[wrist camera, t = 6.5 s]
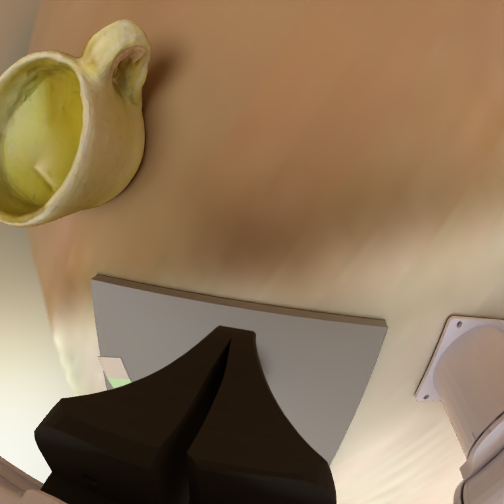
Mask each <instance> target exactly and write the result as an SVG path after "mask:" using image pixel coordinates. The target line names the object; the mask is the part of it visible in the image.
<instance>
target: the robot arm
mask: <svg viewBox="0 0 504 504" xmlns="http://www.w3.org/2000/svg"><path fill="white" fill-rule="evenodd" d="M459 321H460V323H459V324H458V325H457V323H458V322H459ZM425 395H426V396H425ZM415 399H416V400H417V401H441V402H442V404H443V406H444V408H445V410H446V413H447V415H448V417H449V419H450V421H451V424H452V426H453V428H454V430H455V433H456V435H457V437H458V440H459V442H460V445H461V447H462V449H463V452H464V454H465V457H466V459H467V461H466V462H465V463H464V464H463V465H462V466H461V467H460V471H461V474H462V477H463V479H464V480H463V481H462V482H461V483H460V484H459V485H458V486H457V488H456V490H455V494H454V501H453V503H454V504H504V320H499V319H486V318H474V317H463V316H452V317H450V318H449V319H448V321H447V323H446V326H445V328H444V331H443V333H442V336H441V338H440V341H439V343H438V346H437V348H436V351H435V353H434V355H433V358H432V360H431V362H430V364H429V367H428V369H427V371H426V373H425V375H424V377H423V379H422V382H421V384H420V386H419V388H418V390H417V392H416V394H415ZM34 433H35V434H34V435H35V441H36V443H37V445H38V448H39V450H40V451H41V453H42V455H43V457H44V458H45V460H46V462H47V464H48V465H49V467H50V469H51V470H52V473H51V474H50V476H49V477H48V479H47V480H46V482H45V483H44V484H43V483H41V482H40V481H38V480H36V479H34V478H33V477H31V476H30V475H28V474H26V473H25V472H23V471H22V470H20V469H18V468H17V467H15V466H14V465H12V464H11V463H9V462H8V461H6V460H5V459H4V458H2V457H1V456H0V504H336V490H335V485H334V481H333V477H332V473H331V470H330V467H329V464H328V462H327V461H326V460H325V459H324V458H323V457H322V456H321V455H319V454H318V453H317V452H316V451H315V450H314V449H313V448H312V447H311V446H310V445H309V444H308V443H307V442H306V441H305V440H304V439H303V437H302V436H301V435H300V434H299V433H298V432H297V430H296V429H295V428H294V426H293V425H292V424H291V422H290V421H289V420H288V418H287V417H286V416H285V414H284V413H283V411H282V409H281V408H280V406H279V405H278V403H277V401H276V399H275V397H274V396H273V394H272V392H271V390H270V387H269V385H268V383H267V380H266V378H265V375H264V373H263V370H262V367H261V363H260V360H259V356H258V352H257V346H256V333H255V332H254V331H250V330H244V329H238V328H232V327H226V326H221V325H219V326H217V327H216V328H215V329H214V330H213V331H212V332H210V333H209V334H208V335H207V336H206V337H205V338H204V339H202V340H201V341H200V342H199V343H198V344H196V345H195V346H194V347H193V348H191V349H190V350H189V351H188V352H186V353H185V354H183V355H182V356H181V357H179V358H178V359H176V360H175V361H173V362H172V363H170V364H169V365H167V366H165V367H164V368H162V369H160V370H158V371H156V372H154V373H152V374H151V375H148V376H146V377H144V378H141V379H139V380H136V381H134V382H131V383H129V384H126V385H123V386H120V387H117V388H114V389H111V390H107V391H103V392H99V393H94V394H89V395H83V396H76V397H70V398H62V399H61V400H60V401H59V402H58V403H57V404H56V405H55V406H54V407H53V408H52V409H51V411H50V412H49V413H48V414H47V416H46V417H45V418H44V419H43V421H42V422H41V423H40V424H39V426H38V427H37V428H36V430H35V431H34Z"/></svg>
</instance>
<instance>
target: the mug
mask: <svg viewBox="0 0 504 504" xmlns="http://www.w3.org/2000/svg"><path fill="white" fill-rule="evenodd" d="M151 52H152V48H151V44H150V43H149V41H148V39H147V37H146V34H145V32H144V31H143V30H142V28H141V27H140V26H139V25H138V24H136V23H135V22H134V21H131V20H128V19H124V20H120V21H116V22H114V23H112V24H110V25H108V26H106V27H105V28H103V29H101V30H100V31H98V32H97V33H96V34H94V35H93V36H92V37H91V39H90V40H89V41H88V42H87V44H86V46H85V48H84V51H83V55H82V56H81V57H80V58H77V57H74V56H72V55H69V54H67V53H63V52H60V51H56V50H47V51H39V52H35V53H31V54H29V55H27V56H25V57H23V58H21V59H20V60H18V61H17V62H15V63H14V64H13V65H12V66H11V67H9V68H8V69H7V70H6V71H5V72H4V73H3V74H2V75H1V76H0V221H1V222H2V223H5V224H7V225H11V226H15V227H32V226H38V225H41V224H45V223H48V222H51V221H54V220H57V219H59V218H62V217H64V216H67V215H69V214H72V213H75V212H78V211H80V210H85V209H90V208H94V207H97V206H100V205H102V204H104V203H106V202H108V201H110V200H111V199H113V198H114V197H116V196H117V195H118V194H119V193H120V192H122V191H123V190H124V188H125V187H126V186H127V185H128V184H129V182H130V181H131V179H132V178H133V176H134V175H135V173H136V171H137V170H138V167H139V165H140V163H141V159H142V156H143V151H144V145H145V128H144V120H143V115H142V104H143V102H142V86H143V84H144V83H145V80H146V76H147V73H148V63H149V61H150V59H151ZM117 66H118V70H117V73H116V75H115V77H114V78H112V76H113V72H114V70H115V69H116V67H117Z"/></svg>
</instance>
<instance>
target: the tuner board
mask: <svg viewBox="0 0 504 504" xmlns="http://www.w3.org/2000/svg"><path fill="white" fill-rule="evenodd" d="M91 286H92V296H93V306H94V314H95V322H96V329H97V336H98V343H99V349H100V355H101V356H98V359H99V361H100V364H101V366H102V368H103V372H104V377H105V382H106V387H107V390H111V389H114V388H117V387H120V386H123V385H126V384H129V383H131V382H134V381H136V380H139V379H141V378H144V377H146V376H148V375H151V374H152V373H154V372H156V371H158V370H160V369H162V368H164V367H165V366H167V365H169V364H170V363H172V362H173V361H175V360H176V359H178V358H179V357H181V356H182V355H183V354H185V353H186V352H188V351H189V350H190V349H191V348H193V347H194V346H195V345H196V344H198V343H199V342H200V341H201V340H202V339H204V338H205V337H206V336H207V335H208V334H209V333H210V332H212V331H213V330H214V329H215V328H216V327H217V326H219V325H221V326H226V327H232V328H238V329H244V330H250V331H254V332H255V333H256V346H257V352H258V356H259V360H260V363H261V366H262V370H263V373H264V375H265V378H266V380H267V383H268V385H269V387H270V390H271V392H272V394H273V396H274V397H275V399H276V401H277V403H278V405H279V406H280V408H281V409H282V411H283V413H284V414H285V416H286V417H287V418H288V420H289V421H290V422H291V424H292V425H293V426H294V428H295V429H296V430H297V432H298V433H299V434H300V435H301V436H302V437H303V439H304V440H305V441H306V442H307V443H308V444H309V445H310V446H311V447H312V448H313V449H314V450H315V451H316V452H317V453H318V454H319V455H321V456H322V457H323V458H324V459H325V460H326V461H327V462H328V464H329V466H330V464H331V462H332V460H333V458H334V456H335V454H336V453H337V451H338V449H339V446H340V444H341V442H342V440H343V438H344V436H345V434H346V432H347V430H348V428H349V426H350V423H351V421H352V419H353V417H354V415H355V412H356V410H357V408H358V405H359V403H360V401H361V398H362V396H363V394H364V391H365V389H366V386H367V384H368V381H369V379H370V376H371V374H372V371H373V369H374V366H375V363H376V361H377V358H378V355H379V352H380V350H381V347H382V344H383V341H384V338H385V335H386V332H387V329H388V326H387V324H386V322H385V320H378V319H369V318H361V317H352V316H344V315H335V314H328V313H320V312H312V311H305V310H298V309H290V308H283V307H276V306H270V305H263V304H256V303H250V302H244V301H237V300H231V299H225V298H219V297H213V296H207V295H202V294H196V293H190V292H185V291H179V290H174V289H168V288H163V287H158V286H152V285H147V284H142V283H137V282H132V281H127V280H122V279H117V278H112V277H108V276H103V275H96V276H95V277H93V278H92V279H91Z"/></svg>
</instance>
